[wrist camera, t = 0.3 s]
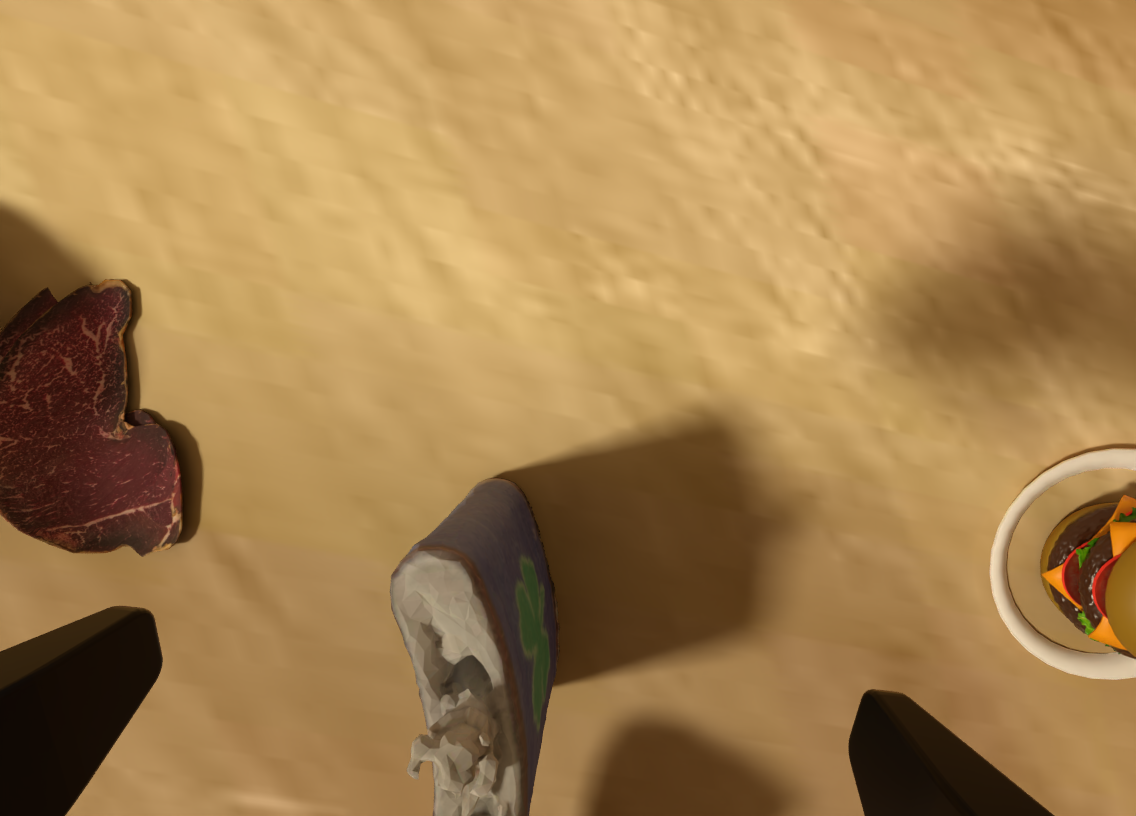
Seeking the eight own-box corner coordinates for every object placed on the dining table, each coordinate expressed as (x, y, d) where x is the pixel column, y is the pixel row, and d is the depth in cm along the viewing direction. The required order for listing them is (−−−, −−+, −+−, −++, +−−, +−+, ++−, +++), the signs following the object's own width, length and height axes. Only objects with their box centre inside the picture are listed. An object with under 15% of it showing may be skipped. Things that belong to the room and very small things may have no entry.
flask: (463, 480, 23) (343, 585, 12) (535, 469, 22) (477, 568, 12) (501, 696, 23) (420, 978, 13) (571, 687, 23) (547, 967, 13)
